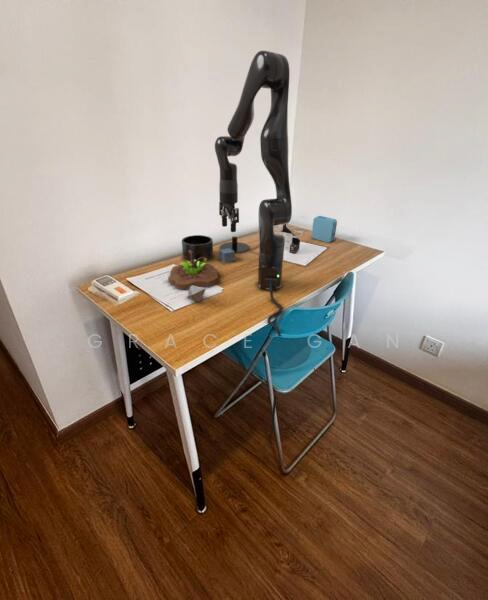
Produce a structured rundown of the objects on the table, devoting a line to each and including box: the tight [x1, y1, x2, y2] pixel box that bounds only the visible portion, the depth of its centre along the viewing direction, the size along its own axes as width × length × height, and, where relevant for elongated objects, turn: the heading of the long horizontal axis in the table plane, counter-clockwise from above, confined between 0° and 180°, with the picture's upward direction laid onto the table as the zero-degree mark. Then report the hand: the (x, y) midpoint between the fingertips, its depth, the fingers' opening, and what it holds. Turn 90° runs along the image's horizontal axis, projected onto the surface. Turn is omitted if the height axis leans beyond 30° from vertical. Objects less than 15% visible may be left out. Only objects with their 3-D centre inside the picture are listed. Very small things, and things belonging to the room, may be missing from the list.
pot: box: [181, 234, 214, 263], centre depth 147 cm, size 14×14×8 cm
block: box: [219, 248, 235, 264], centre depth 145 cm, size 5×5×5 cm
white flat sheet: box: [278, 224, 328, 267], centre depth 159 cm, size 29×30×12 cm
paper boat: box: [187, 285, 212, 303], centre depth 114 cm, size 12×6×9 cm
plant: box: [168, 250, 220, 290], centre depth 128 cm, size 20×20×11 cm
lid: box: [219, 236, 250, 254], centre depth 159 cm, size 15×15×6 cm
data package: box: [311, 215, 338, 244], centre depth 175 cm, size 12×4×12 cm, turn 51°
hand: (228, 229), depth 140 cm, fingers open, 8 cm apart
